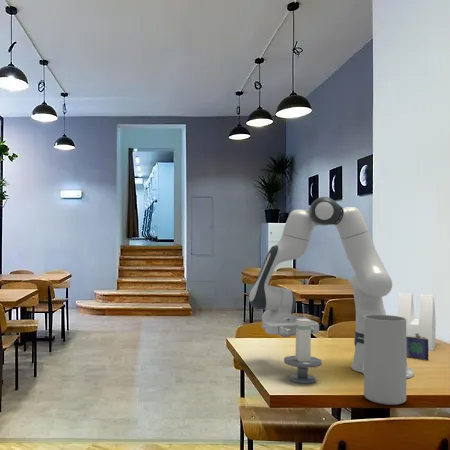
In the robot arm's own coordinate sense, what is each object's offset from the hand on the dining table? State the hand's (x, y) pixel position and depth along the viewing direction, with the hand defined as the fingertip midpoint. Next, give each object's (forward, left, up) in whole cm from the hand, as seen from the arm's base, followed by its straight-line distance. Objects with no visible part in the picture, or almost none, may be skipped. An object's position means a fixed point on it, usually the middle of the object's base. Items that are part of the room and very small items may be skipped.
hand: (300, 331), depth 165 cm
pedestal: (-1, +1, -17) cm, 17 cm away
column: (-1, +1, -10) cm, 10 cm away
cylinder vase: (-29, +9, -17) cm, 35 cm away
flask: (-37, -54, -17) cm, 67 cm away
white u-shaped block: (-36, -82, -17) cm, 92 cm away
